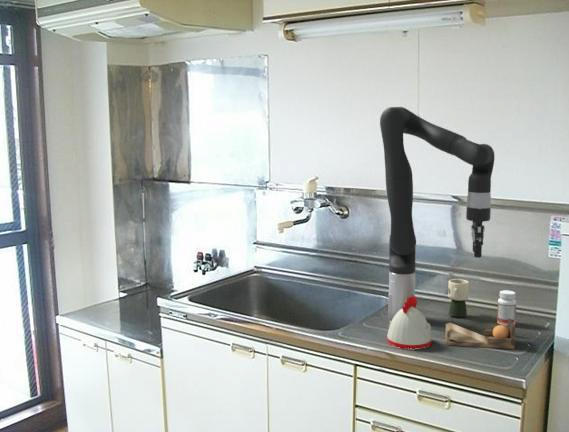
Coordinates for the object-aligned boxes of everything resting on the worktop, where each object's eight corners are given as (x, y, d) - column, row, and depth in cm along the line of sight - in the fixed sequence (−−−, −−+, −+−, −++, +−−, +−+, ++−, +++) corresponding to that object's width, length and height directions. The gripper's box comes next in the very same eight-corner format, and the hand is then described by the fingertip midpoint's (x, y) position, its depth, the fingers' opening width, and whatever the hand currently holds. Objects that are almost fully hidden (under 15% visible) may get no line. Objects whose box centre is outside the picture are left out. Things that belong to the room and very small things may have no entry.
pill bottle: (503, 319, 223) (504, 288, 222) (519, 323, 219) (520, 292, 217) (493, 323, 219) (494, 291, 218) (509, 327, 215) (510, 295, 213)
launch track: (446, 350, 199) (447, 323, 197) (445, 341, 207) (445, 315, 206) (514, 354, 194) (515, 327, 193) (510, 345, 203) (511, 318, 202)
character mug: (451, 310, 234) (452, 277, 233) (471, 313, 231) (472, 279, 229) (444, 318, 225) (444, 283, 223) (464, 321, 222) (465, 285, 220)
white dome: (438, 341, 202) (439, 296, 200) (418, 353, 192) (419, 305, 190) (400, 332, 211) (401, 289, 209) (379, 343, 201) (379, 298, 199)
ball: (502, 346, 197) (490, 335, 197) (500, 341, 201) (488, 330, 202) (513, 335, 195) (501, 324, 196) (511, 330, 200) (499, 319, 201)
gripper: (465, 202, 212) (463, 250, 214) (467, 208, 198) (466, 258, 200) (488, 203, 210) (486, 250, 212) (492, 208, 196) (490, 259, 199)
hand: (476, 254), depth 206 cm, fingers open, 8 cm apart
